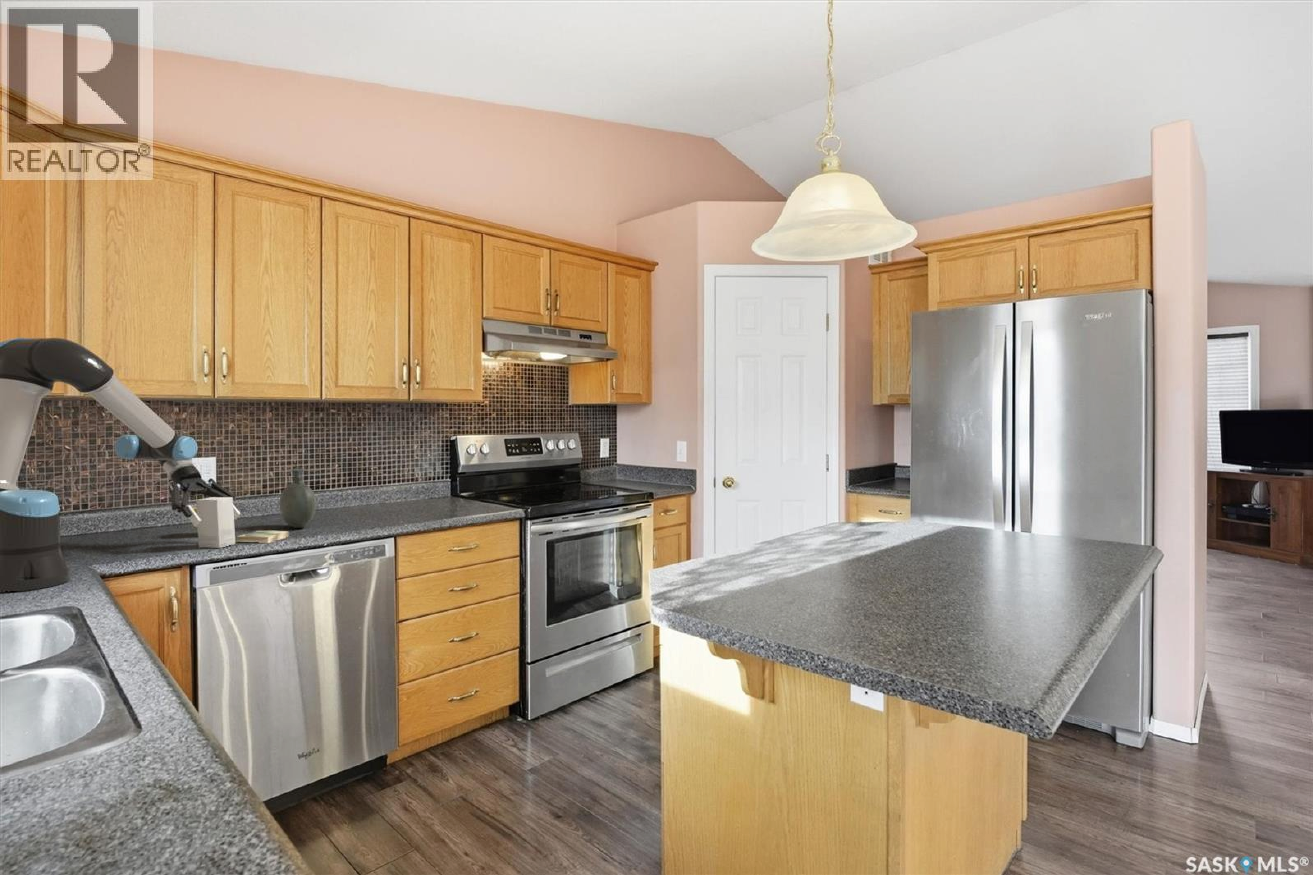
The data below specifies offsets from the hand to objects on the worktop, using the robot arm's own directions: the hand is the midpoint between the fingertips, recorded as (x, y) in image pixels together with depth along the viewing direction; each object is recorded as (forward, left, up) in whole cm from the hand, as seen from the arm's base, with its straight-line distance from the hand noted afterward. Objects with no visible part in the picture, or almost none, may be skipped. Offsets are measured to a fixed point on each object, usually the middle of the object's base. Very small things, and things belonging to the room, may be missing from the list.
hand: (218, 520), depth 211 cm
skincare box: (0, +1, -9) cm, 9 cm away
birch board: (+11, -7, -8) cm, 15 cm away
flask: (+34, -5, -9) cm, 35 cm away
